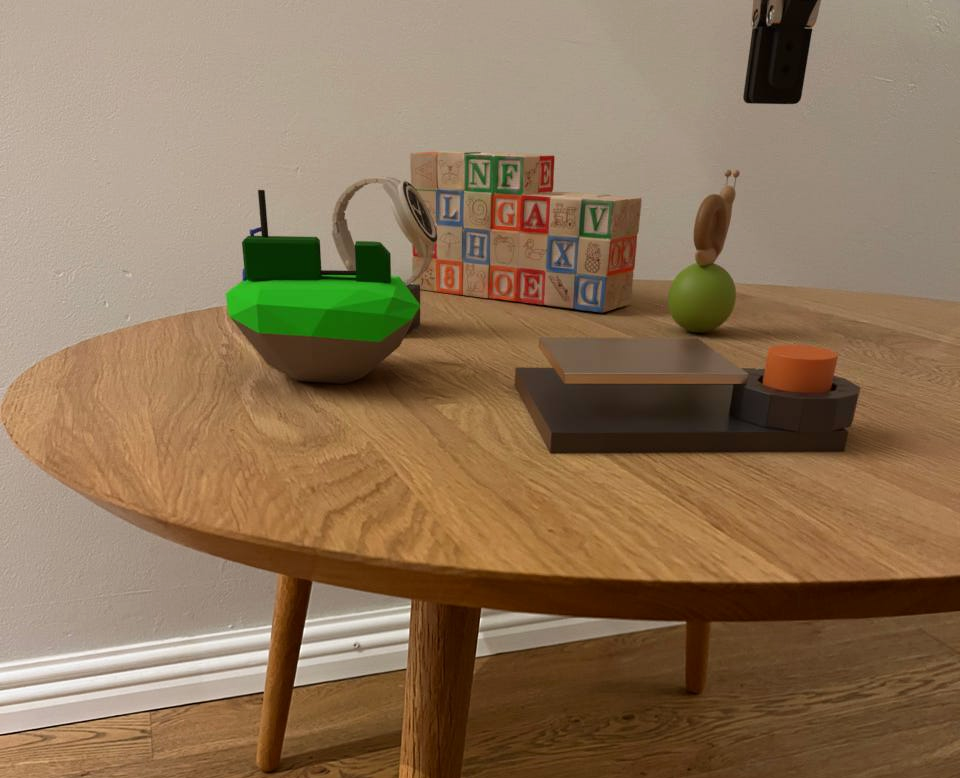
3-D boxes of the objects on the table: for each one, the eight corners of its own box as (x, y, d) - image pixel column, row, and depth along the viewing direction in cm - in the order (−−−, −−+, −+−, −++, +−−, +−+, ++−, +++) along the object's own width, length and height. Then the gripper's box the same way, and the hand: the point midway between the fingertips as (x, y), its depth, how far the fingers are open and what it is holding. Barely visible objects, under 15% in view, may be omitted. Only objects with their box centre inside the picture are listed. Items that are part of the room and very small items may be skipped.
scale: (769, 386, 62) (778, 340, 60) (868, 454, 50) (881, 398, 48) (514, 386, 60) (516, 338, 59) (550, 456, 48) (554, 398, 46)
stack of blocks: (632, 305, 87) (647, 158, 81) (603, 315, 83) (617, 160, 77) (445, 281, 97) (446, 148, 91) (410, 288, 92) (408, 149, 86)
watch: (426, 339, 72) (426, 181, 66) (328, 332, 73) (320, 177, 68) (443, 325, 77) (444, 177, 71) (350, 319, 78) (344, 173, 73)
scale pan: (696, 348, 58) (698, 338, 57) (747, 384, 50) (749, 373, 50) (538, 347, 57) (538, 337, 56) (564, 384, 49) (565, 373, 49)
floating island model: (222, 401, 55) (198, 197, 50) (247, 356, 65) (231, 183, 60) (423, 402, 56) (422, 202, 51) (418, 358, 66) (417, 187, 61)
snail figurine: (741, 329, 79) (767, 171, 73) (718, 341, 74) (743, 173, 68) (681, 321, 81) (701, 167, 75) (654, 333, 76) (673, 170, 70)
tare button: (813, 381, 53) (821, 344, 52) (841, 398, 49) (849, 359, 48) (752, 381, 52) (758, 344, 51) (776, 398, 49) (783, 359, 48)
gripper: (976, -344, 44) (885, 104, 53) (832, -241, 57) (779, 105, 66) (826, -357, 43) (760, 101, 52) (714, -249, 56) (677, 103, 65)
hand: (771, 102), depth 59 cm, fingers closed
